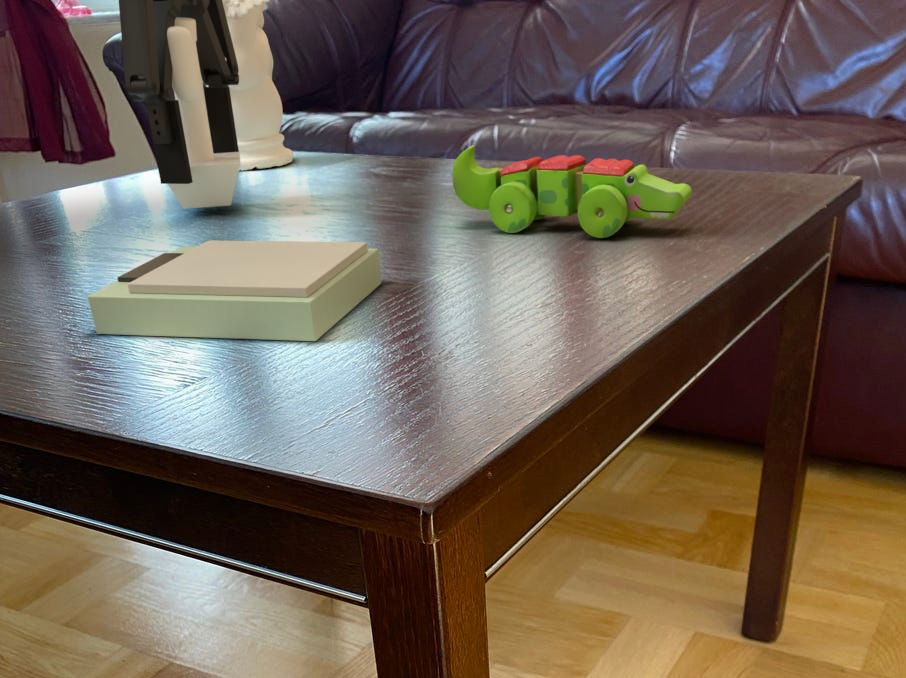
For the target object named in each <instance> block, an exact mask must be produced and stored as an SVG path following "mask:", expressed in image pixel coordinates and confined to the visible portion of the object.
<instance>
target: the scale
mask: <svg viewBox="0 0 906 678" xmlns="http://www.w3.org/2000/svg"><path fill="white" fill-rule="evenodd" d="M379 253H380V252H379V248H368V243H367V242H363V241H295V240H294V241H288V240H286V241H284V240H283V241H281V240H280V241H278V240H273V241H272V240H207V241H205V242H203V243H201V244H199V245H195V246H194V245H183V246H181V247H179V248H176V250H174V251H171V252H164V253H162V254H159V255H158V256H156V257H153V258H152V259H149V260H148V261H146V262H144V263H142V264H140V265H139V266H136V267H134V268H133V269H131V270H129V271H127V272H125V273H123V274H121V275H119V276H117V280H115V282H112V283H110V284H109V285H107V286H104V287H102V288H101V289H99V290H97V291H95V292H93V293H91V294H89V295H87V300H88V304H89V308H90V312H91V316H92V321H93V324H94V328H95V332H96V334H97V335H117V336H118V335H119V336H120V335H121V336H149V337H150V336H151V337H174V338H175V337H179V338H209V339H233V340H235V339H236V340H237V339H238V340H264V341H266V340H267V341H268V340H269V341H294V342H295V341H296V342H316V341H318V340H319V339H320V338H321V337H322V336H323V335H324V334H326V333H327V332H328V331H329V330H330V329H331V328H333V327H334V326H335V325H336V324H337V323H338V322H339V321H340V320H342V319H343V318H344V317H345V316H346V315H347V314H348V313H350V312H351V311H352V310H353V309H354V308H356V306H357V305H358V304H360V303H361V302H362V301H363V300H364V299H365V298H367V297H368V296H369V295H370V294H371V293H372V292H374V291H375V290H376V289H377V288H378V287H379V286H380V285H381V284H382V275H381V264H380V254H379Z"/></svg>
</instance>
